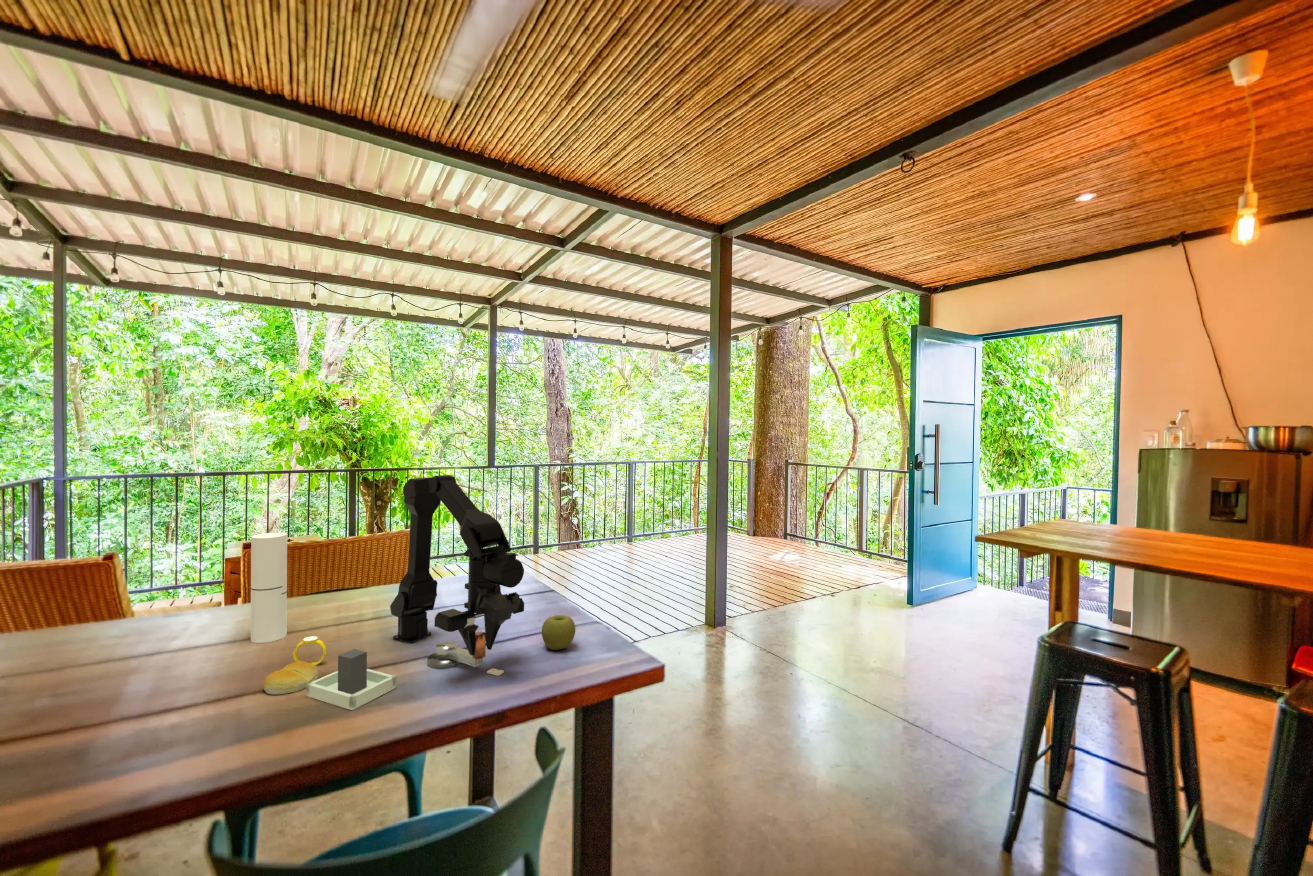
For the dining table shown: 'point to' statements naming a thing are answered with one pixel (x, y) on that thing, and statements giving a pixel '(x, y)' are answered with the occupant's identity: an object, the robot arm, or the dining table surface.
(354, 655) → the dark gray rectangular block
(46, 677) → the dining table surface
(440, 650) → the crank
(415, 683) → the dining table surface
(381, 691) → the tray
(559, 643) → the apple
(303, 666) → the bread roll
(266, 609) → the cylindrical container
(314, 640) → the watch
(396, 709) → the dining table surface
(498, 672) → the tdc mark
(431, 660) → the hub plate
